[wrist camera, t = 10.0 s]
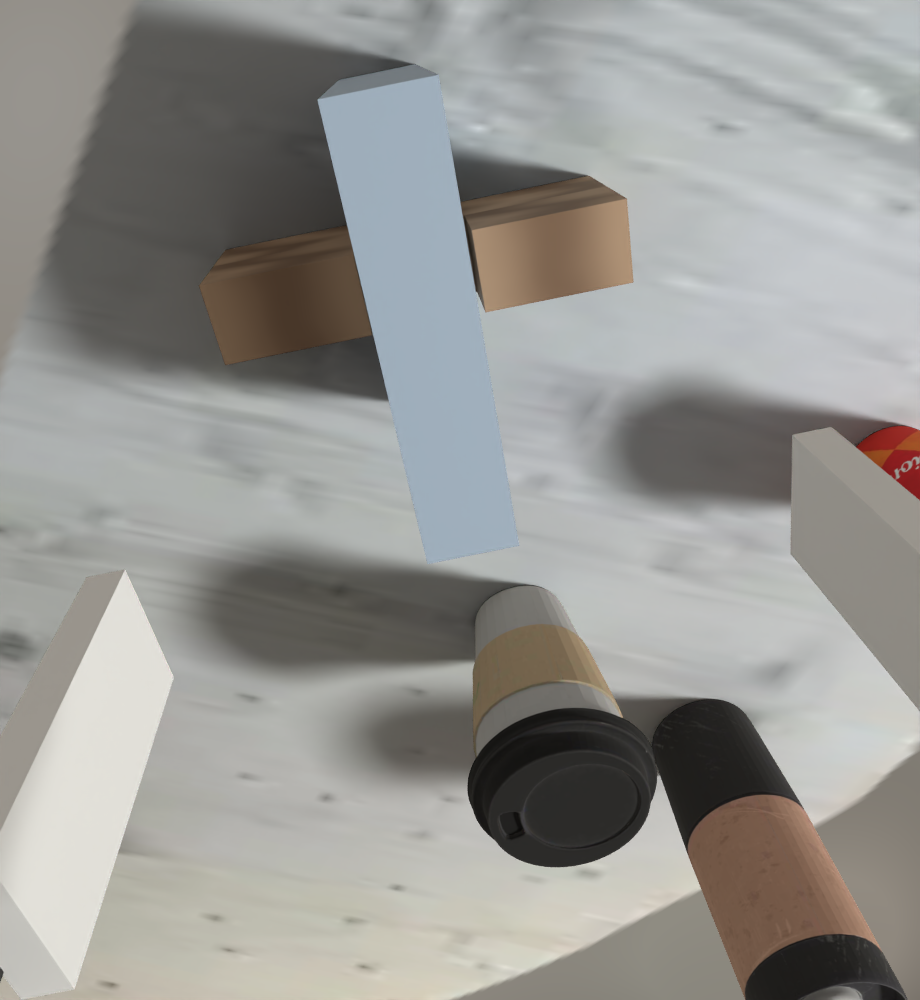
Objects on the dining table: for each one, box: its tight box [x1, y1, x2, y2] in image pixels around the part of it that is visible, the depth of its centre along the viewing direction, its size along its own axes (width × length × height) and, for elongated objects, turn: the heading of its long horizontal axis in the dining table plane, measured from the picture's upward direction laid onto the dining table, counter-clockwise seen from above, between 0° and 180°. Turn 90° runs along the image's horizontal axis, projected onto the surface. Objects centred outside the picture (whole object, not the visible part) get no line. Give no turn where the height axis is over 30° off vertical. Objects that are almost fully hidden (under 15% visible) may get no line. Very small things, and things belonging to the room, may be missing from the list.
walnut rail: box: [199, 176, 633, 365], centre depth 39 cm, size 18×4×7 cm, turn 100°
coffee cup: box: [468, 586, 657, 867], centre depth 47 cm, size 9×9×15 cm
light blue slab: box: [318, 64, 519, 564], centre depth 35 cm, size 4×16×16 cm, turn 10°
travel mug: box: [652, 700, 907, 1000], centre depth 51 cm, size 8×8×20 cm
